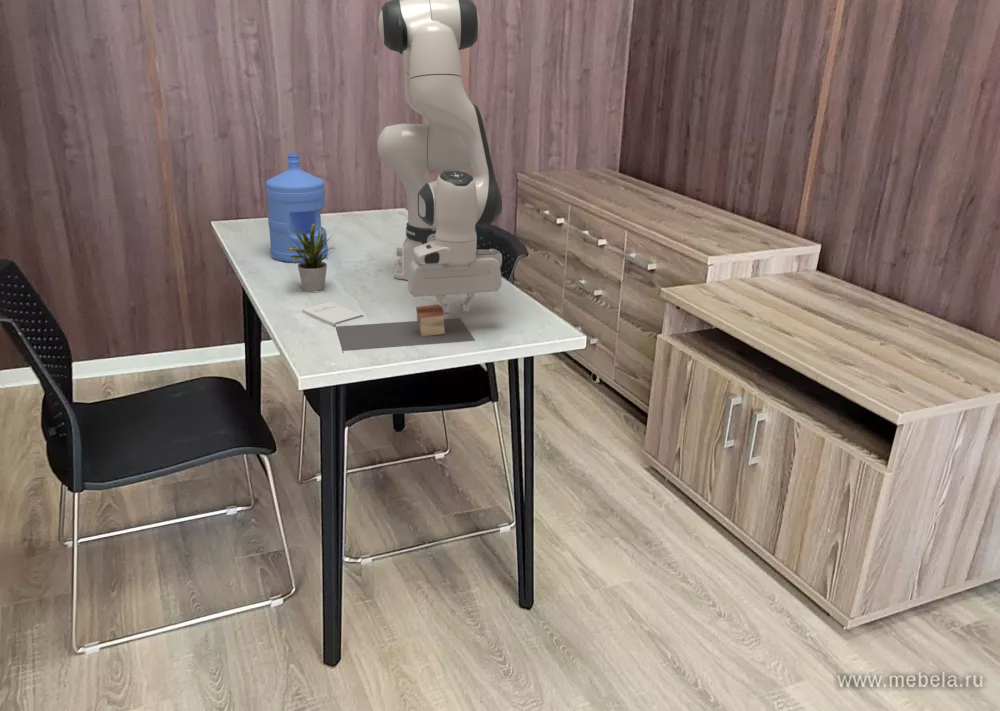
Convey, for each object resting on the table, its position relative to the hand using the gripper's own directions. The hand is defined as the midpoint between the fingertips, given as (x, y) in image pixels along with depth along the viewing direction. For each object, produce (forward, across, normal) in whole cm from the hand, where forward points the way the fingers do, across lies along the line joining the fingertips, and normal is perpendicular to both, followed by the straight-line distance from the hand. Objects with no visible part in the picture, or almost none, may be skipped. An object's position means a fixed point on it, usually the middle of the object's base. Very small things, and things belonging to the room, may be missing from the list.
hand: (454, 312), depth 178 cm
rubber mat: (+5, +11, 0) cm, 12 cm away
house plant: (+5, +27, -38) cm, 47 cm away
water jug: (+5, +27, -67) cm, 72 cm away
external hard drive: (+6, +24, -16) cm, 30 cm away
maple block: (+4, +5, 0) cm, 7 cm away
